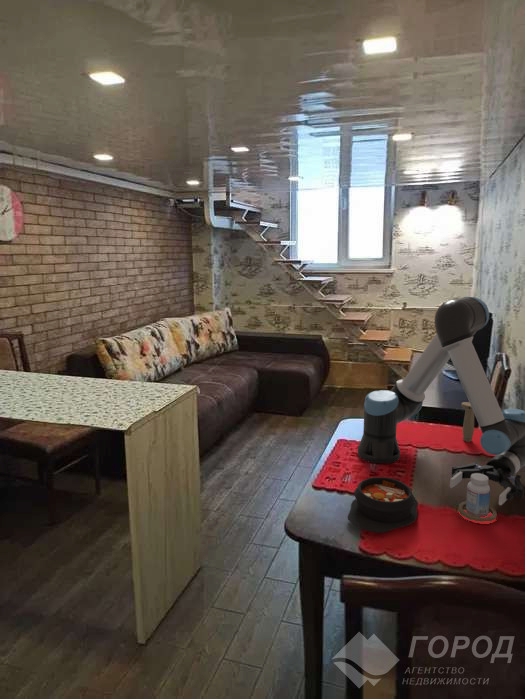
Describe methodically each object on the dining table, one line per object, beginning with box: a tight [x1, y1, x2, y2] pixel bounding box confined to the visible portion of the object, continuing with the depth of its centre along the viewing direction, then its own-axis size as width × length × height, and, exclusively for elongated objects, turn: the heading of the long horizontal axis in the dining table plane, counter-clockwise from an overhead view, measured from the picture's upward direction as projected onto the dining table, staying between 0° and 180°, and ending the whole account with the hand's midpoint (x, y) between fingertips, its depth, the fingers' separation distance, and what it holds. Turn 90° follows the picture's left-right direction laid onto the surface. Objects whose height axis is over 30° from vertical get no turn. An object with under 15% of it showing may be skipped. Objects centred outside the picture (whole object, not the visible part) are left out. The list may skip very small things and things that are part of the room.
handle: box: [460, 401, 475, 443], centre depth 191 cm, size 5×6×15 cm
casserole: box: [346, 476, 419, 534], centre depth 140 cm, size 25×19×8 cm
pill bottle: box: [465, 473, 491, 517], centre depth 140 cm, size 6×6×11 cm
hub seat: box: [457, 500, 498, 522], centre depth 141 cm, size 10×10×2 cm
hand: (474, 491), depth 137 cm, fingers open, 13 cm apart
